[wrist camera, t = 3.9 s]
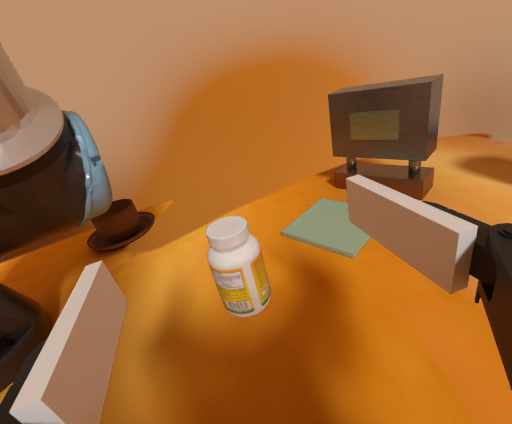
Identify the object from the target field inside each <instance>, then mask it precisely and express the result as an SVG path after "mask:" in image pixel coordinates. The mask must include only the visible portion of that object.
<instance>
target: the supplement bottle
mask: <svg viewBox="0 0 512 424" xmlns="http://www.w3.org/2000/svg"><path fill="white" fill-rule="evenodd" d="M249 233H250V231H249V228H248V225H247V222H246V220H245V219H244V218H243V217H240V216H228V217H224V218H221V219H218V220H216V221H215V222H213V223H212V224H211V225H210V226H209V227H208V228H207V230H206V235H207V238H208V241H209V244H210V248H209V250H208V253H207V259H208V263H209V266H210V268H211V271H212V274H213V277H214V279H215V282H216V284H217V287H218V290H219V292H220V295H221V298H222V301H223V303H224V306H225V308H226V310H227V311H228V312H229V313H230V314H232V315H234V316H236V317H250V316H254V315H256V314H258V313H260V312H261V311H262V310H263V309H264V308H265V307H266V306H267V305H268V303H269V301H270V298H271V289H270V285H269V281H268V277H267V273H266V269H265V265H264V261H263V257H262V252H261V249H260V245H259V242H258V240H257V239H256V238H255V237H254V236H253V235H251V234H249Z"/></svg>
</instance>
